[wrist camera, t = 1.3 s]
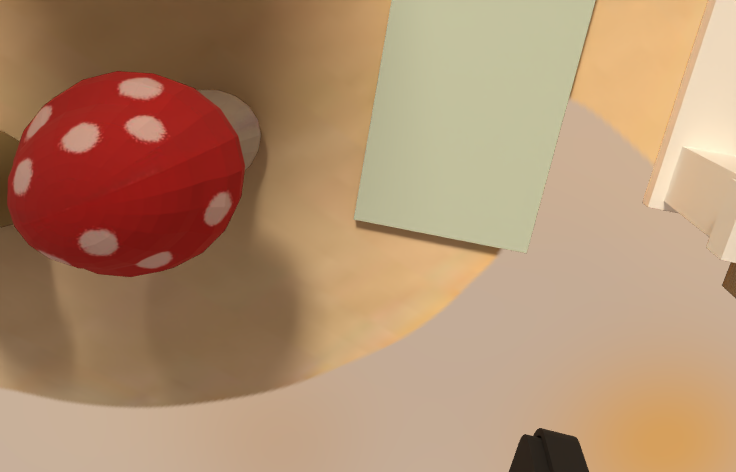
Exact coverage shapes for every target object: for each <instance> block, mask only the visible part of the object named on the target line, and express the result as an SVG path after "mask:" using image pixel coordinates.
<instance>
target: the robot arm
mask: <svg viewBox="0 0 736 472" xmlns="http://www.w3.org/2000/svg"><path fill="white" fill-rule="evenodd" d="M509 472H589V470H588V467H587V464H586V461H585V459H584V455H583V453H582V449H581V446H580V443H579V441H578V439H577V438H576V437H574V436H570V435H566V434H562V433H558V432H554V431H550V430H546V429H542V428H539V429H537V430H536V432H535V433H534V436H530V435H526V434H525V435H523V436H522V437H521V439H520V442H519V444H518V447H517V450H516V453H515V456H514V459H513V461H512V464H511V467H510V470H509Z"/></svg>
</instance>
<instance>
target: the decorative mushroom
mask: <svg viewBox="0 0 736 472" xmlns="http://www.w3.org/2000/svg"><path fill="white" fill-rule="evenodd" d="M260 138H261V133H260V128H259V123H258V119H257V118H256V116H255V115H254V113H253V112H252V110H251V109H250V107H249V106H248V105H247V104H246V103H244V102H243V101H241V100H240V99H239V98H237V97H236V96H234V95H231V94H228V93H225V92H222V91H219V90H196V89H195V88H192V87H190V86H187V85H184V84H182V83H179V82H176V81H173V80H171V79H168V78H165V77H162V76H159V75H156V74H153V73H137V72H121V71H116V72H112V73H108V74H104V75H100V76H96V77H92V78H88V79H84V80H81V81H80V82H78V83H77V84H75V85H73V86H72V87H70V88H69V89H67V90H66V91H64V92H62V93H61V94H59V95H58V96H56V97H54V98H53V99H52V100H50V101H49V102H48V103H47V104H45V105H44V106H43V107H42V109H41V110H40V111H39V112H38V114H37V115H36V116H35V117H34V119H33V120H32V121H31V122H30V124H29V125H28V126H27V127H26V128H25V130H24V131H23V134H22V137H21V140H20V143H19V146H18V149H17V151H16V154H15V157H14V160H13V166H12V169H11V172H10V174H9V177H8V193H7V206H8V209H9V212H10V215H11V218H12V221H13V224H14V226H15V228H16V229H17V230H18V232H19V233H20V234H21V235H22V237H23V238H24V239H25V240H26V242H27V243H28V244H29V245H30V246H31V247H33V248H34V249H36V250H37V251H39V252H40V253H42V254H43V255H45V256H46V257H48V258H49V259H52V260H55V261H58V262H61V263H64V264H67V265H70V266H74V267H77V268H84V269H86V270H89V271H92V272H94V273H97V274H103V275H114V276H125V277H133V276H139V275H144V274H149V273H154V272H160V271H164V270H167V269H170V268H174V267H176V266H178V265H180V264H182V263H184V262H185V261H187V260H189V259H191V258H193V257H195V256H197V255H199V254H201V253H203V252H204V251H205V250H206V249H207V248H208V247H209V246H210V245H211V244H212V243H213V242H214V241H215V240H216V239H217V238H218V237H219V236H220V235H221V234H222V233H223V232H224V231H225V229H226V227H227V225H228V223H229V221H230V219H231V217H232V215H233V213H234V211H235V209H236V207H237V205H238V203H239V200H240V198H241V195H242V187H243V179H244V171H245V170H246V169H247V168H248V167H249V166H250V165H251V163H252V161H253V159H254V158H255V156H256V154H257V152H258V150H259V144H260Z"/></svg>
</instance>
